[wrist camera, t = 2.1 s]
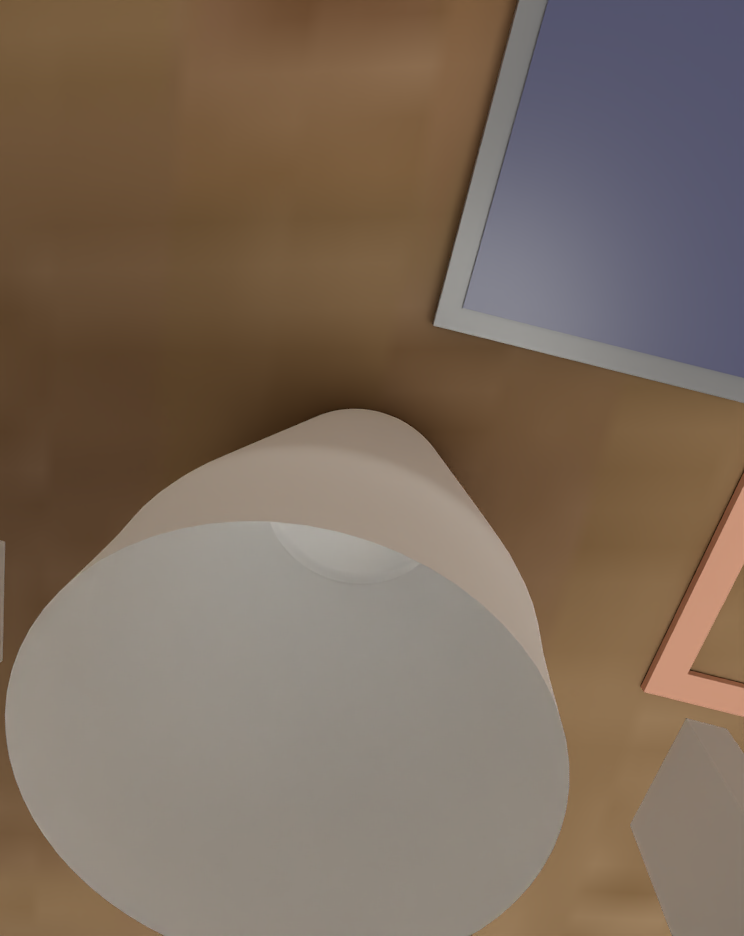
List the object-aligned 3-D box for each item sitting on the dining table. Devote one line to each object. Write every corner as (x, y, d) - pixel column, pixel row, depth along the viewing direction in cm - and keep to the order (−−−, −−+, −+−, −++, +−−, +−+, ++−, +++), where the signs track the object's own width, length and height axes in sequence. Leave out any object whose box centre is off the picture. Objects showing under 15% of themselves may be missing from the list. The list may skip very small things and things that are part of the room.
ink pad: (432, 323, 18) (433, 325, 17) (545, -105, 14) (556, -139, 13) (765, 406, 18) (789, 414, 17) (958, -2, 14) (1005, -26, 13)
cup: (255, 343, 18) (-2, 433, 7) (519, 409, 18) (685, 605, 7) (216, 576, 21) (-12, 908, 10) (445, 633, 21) (478, 1029, 10)
